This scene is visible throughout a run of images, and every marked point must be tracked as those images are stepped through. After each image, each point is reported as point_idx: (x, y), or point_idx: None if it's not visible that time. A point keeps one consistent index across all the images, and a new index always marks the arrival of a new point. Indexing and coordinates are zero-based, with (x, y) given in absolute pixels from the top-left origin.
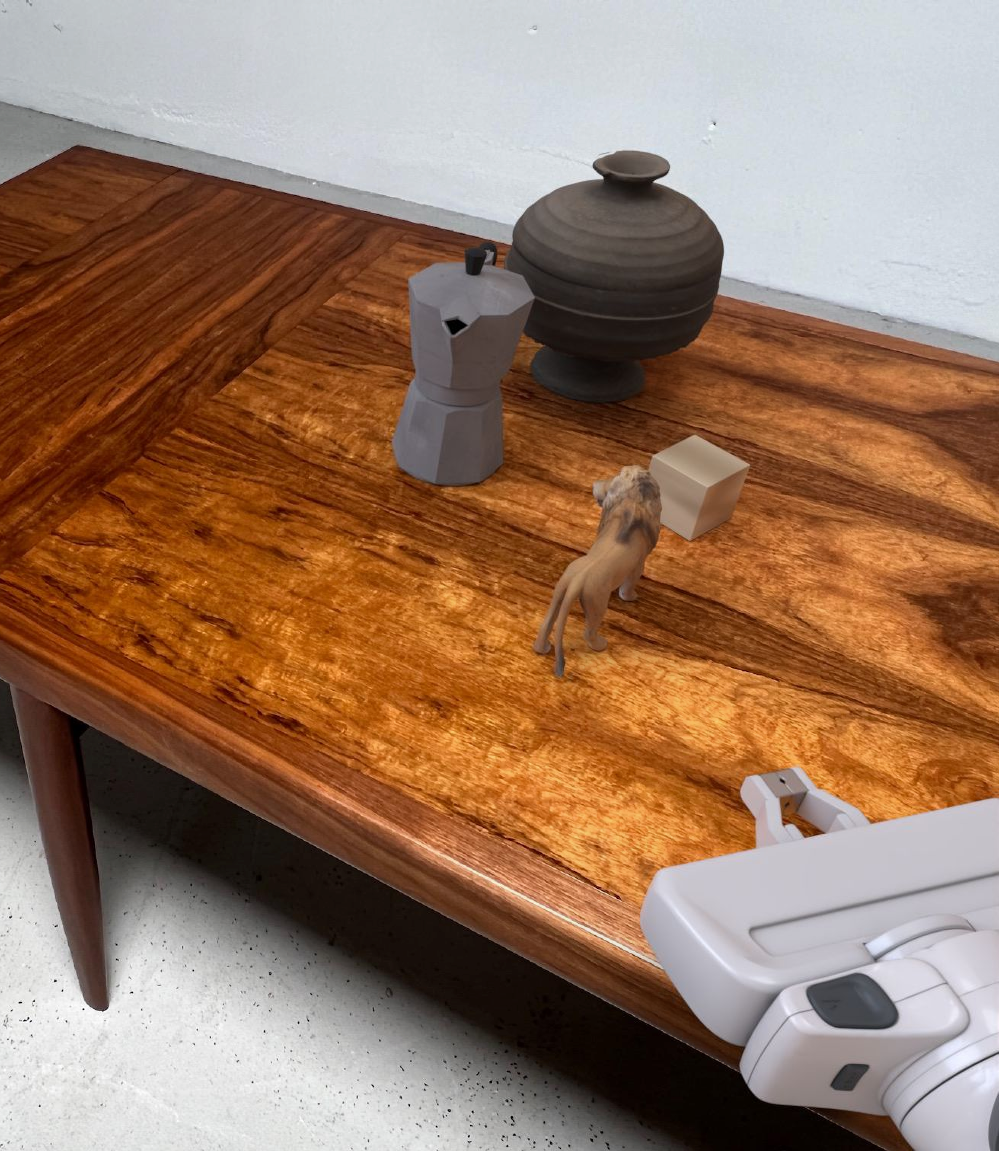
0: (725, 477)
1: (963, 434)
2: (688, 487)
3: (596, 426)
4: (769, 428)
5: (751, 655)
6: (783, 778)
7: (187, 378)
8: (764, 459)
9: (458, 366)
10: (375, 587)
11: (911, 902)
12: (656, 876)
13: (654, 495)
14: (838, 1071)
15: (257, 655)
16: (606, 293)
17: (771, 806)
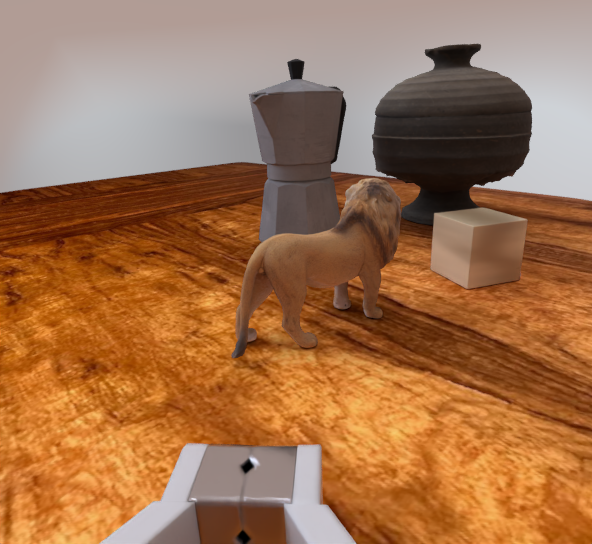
0: (496, 223)
1: None
2: (460, 233)
3: (430, 234)
4: (582, 241)
5: (485, 374)
6: (254, 461)
7: (183, 209)
8: (570, 254)
9: (277, 142)
10: (158, 290)
11: None
12: None
13: (386, 198)
14: None
15: (5, 316)
16: (422, 119)
17: (144, 521)
